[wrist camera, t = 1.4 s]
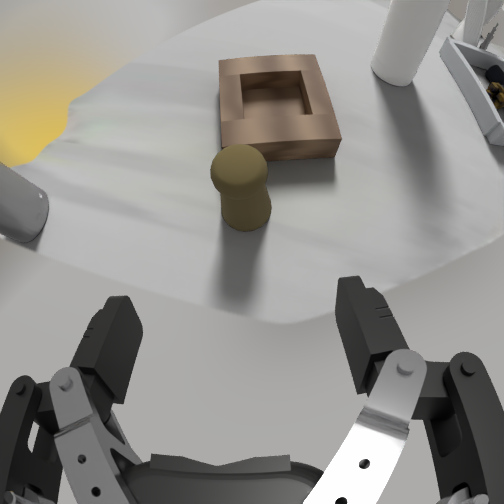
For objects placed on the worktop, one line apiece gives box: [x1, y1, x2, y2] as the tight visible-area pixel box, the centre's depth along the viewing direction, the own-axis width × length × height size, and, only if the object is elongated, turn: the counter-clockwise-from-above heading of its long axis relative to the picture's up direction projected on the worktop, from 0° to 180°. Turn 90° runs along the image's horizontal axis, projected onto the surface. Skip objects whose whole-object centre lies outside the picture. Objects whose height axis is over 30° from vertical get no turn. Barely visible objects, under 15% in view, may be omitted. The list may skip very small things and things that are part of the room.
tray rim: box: [439, 37, 504, 146], centre depth 36 cm, size 24×24×5 cm
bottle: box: [371, 0, 451, 86], centre depth 25 cm, size 8×8×30 cm
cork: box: [210, 144, 272, 232], centre depth 30 cm, size 6×6×11 cm
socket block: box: [219, 55, 342, 162], centre depth 36 cm, size 14×16×4 cm
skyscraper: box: [450, 0, 504, 50], centre depth 28 cm, size 8×8×28 cm
